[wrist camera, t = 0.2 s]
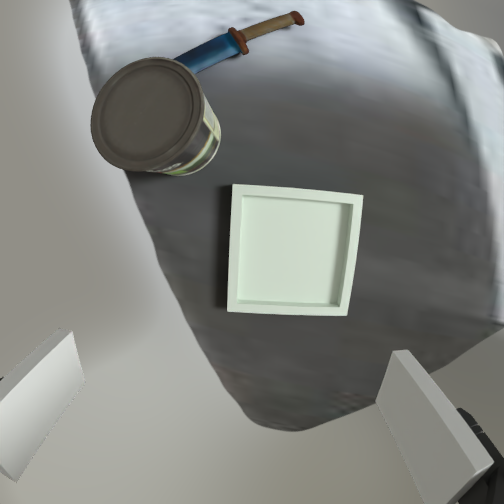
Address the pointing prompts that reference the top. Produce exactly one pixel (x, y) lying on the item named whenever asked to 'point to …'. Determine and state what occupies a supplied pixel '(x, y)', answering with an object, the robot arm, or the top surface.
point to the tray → (292, 250)
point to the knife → (233, 42)
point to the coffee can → (155, 119)
